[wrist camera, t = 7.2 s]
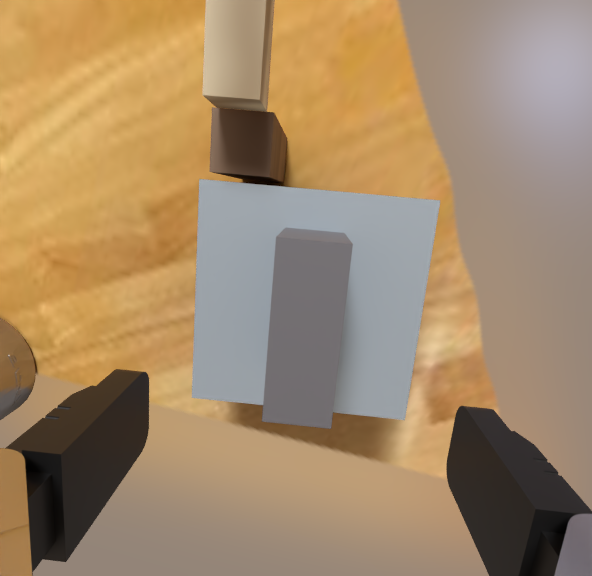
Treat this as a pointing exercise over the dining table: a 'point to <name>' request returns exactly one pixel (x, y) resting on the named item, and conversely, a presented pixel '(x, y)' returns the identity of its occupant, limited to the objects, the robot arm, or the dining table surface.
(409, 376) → the lid
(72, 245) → the dining table surface
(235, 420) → the dining table surface
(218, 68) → the wooden key
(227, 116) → the toolbox
